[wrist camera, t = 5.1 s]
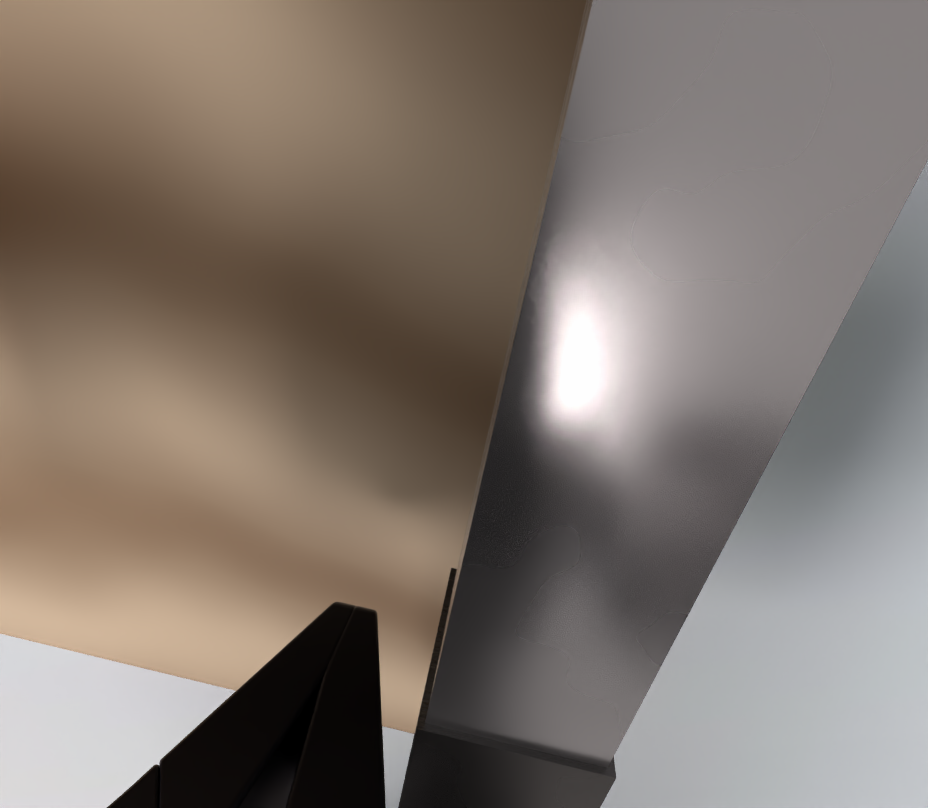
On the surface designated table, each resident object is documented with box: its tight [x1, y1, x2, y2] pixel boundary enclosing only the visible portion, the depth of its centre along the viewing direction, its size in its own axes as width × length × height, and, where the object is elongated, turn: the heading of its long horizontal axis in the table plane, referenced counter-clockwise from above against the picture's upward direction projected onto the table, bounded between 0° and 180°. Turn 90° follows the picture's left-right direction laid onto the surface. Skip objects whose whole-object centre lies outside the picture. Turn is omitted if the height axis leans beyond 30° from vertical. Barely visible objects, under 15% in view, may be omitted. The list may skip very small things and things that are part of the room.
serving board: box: [0, 0, 586, 734], centre depth 10 cm, size 22×18×1 cm
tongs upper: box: [398, 0, 928, 808], centre depth 7 cm, size 16×3×3 cm, turn 170°
